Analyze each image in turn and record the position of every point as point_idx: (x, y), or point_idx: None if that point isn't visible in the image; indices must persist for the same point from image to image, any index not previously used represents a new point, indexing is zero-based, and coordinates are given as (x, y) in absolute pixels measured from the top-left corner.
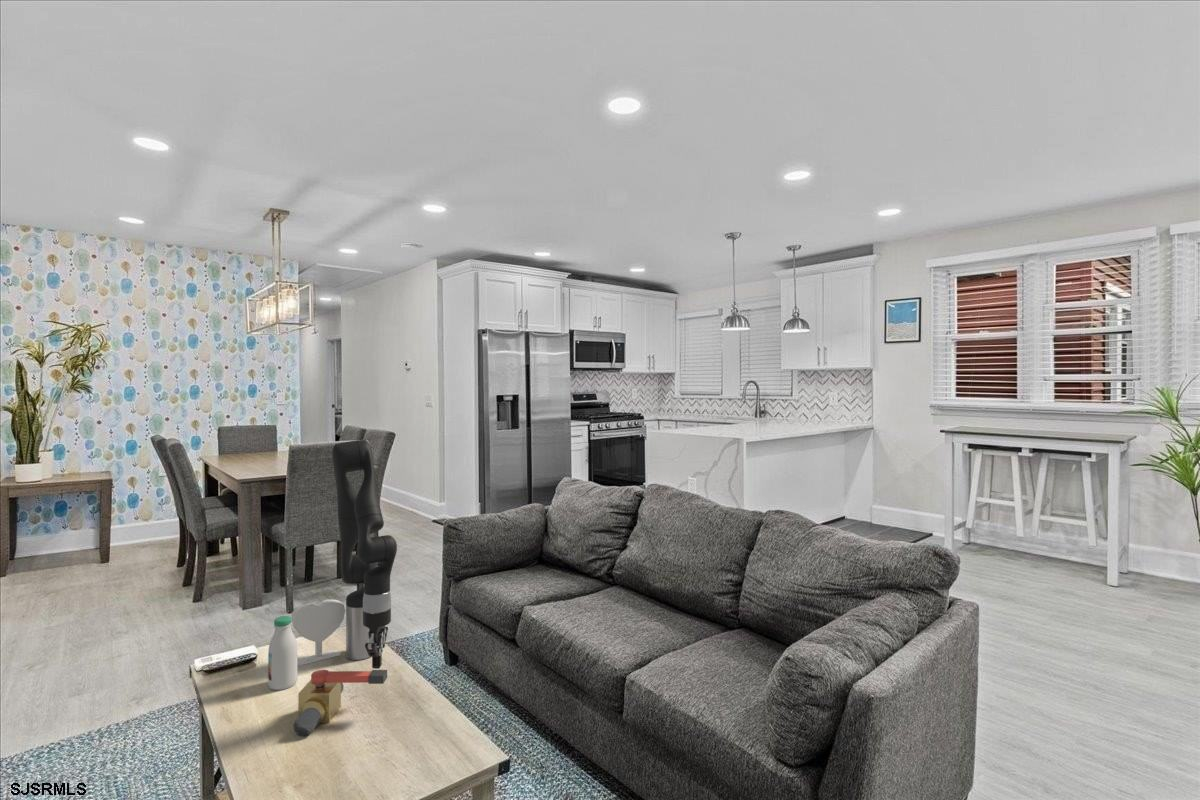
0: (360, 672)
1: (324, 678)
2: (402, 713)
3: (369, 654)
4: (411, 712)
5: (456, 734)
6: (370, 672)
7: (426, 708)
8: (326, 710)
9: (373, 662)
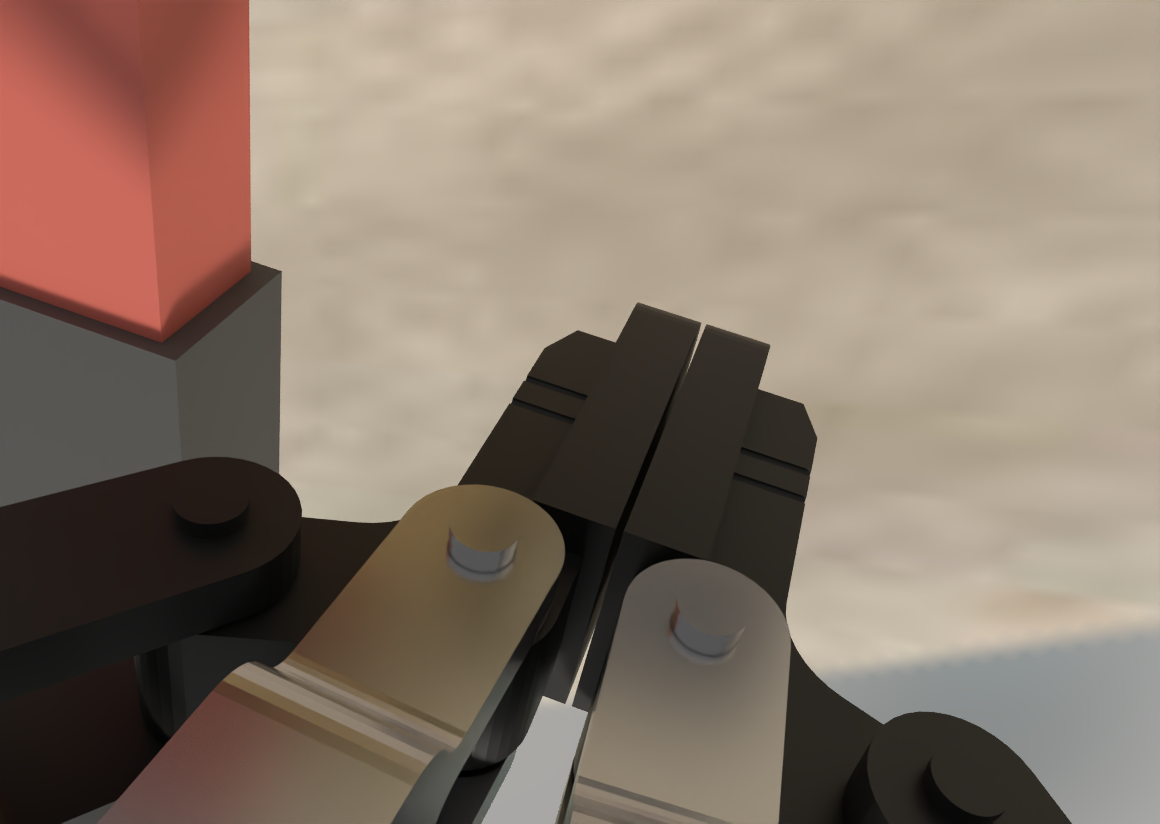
0: (72, 59)
1: None
2: (425, 389)
3: (47, 532)
4: (433, 465)
5: None
6: (100, 303)
7: None
8: None
9: (510, 415)
